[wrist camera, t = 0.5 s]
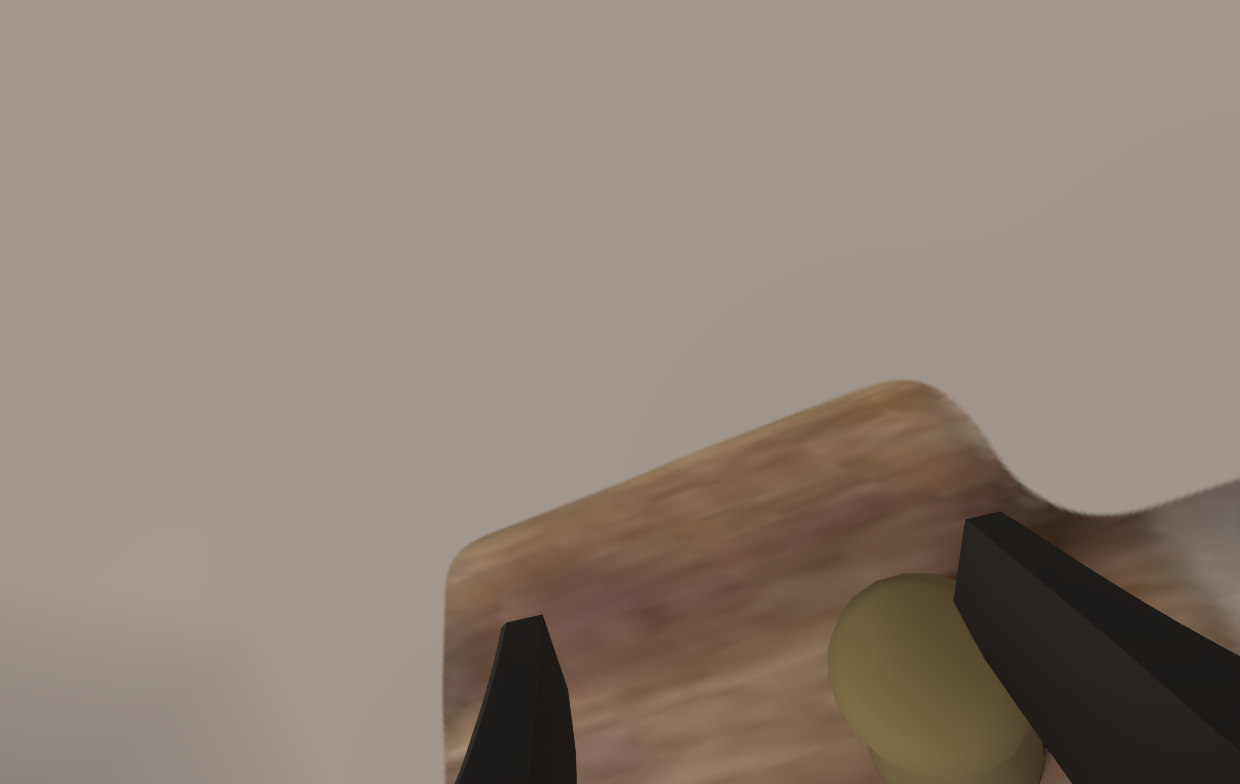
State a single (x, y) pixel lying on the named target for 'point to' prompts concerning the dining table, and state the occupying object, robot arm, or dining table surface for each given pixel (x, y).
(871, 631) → the cork
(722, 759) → the dining table surface
